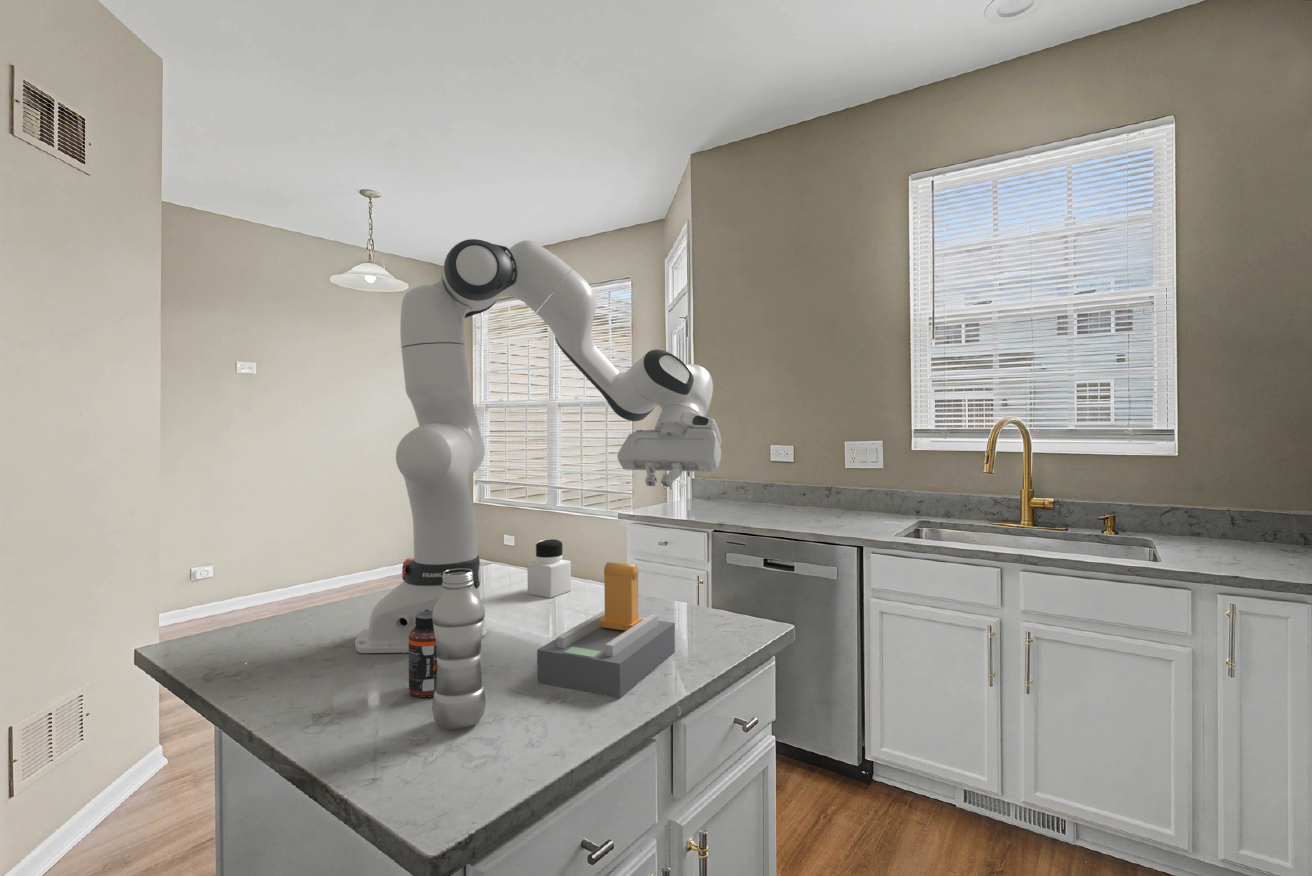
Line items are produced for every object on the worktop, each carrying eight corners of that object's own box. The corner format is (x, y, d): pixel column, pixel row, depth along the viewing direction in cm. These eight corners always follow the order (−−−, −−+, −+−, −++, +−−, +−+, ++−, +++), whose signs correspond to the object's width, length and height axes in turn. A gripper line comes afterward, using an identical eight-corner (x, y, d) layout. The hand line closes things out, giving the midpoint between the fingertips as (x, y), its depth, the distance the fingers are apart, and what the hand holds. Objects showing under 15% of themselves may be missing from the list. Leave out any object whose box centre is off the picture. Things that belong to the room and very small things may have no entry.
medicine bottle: (571, 591, 149) (571, 539, 149) (550, 598, 143) (550, 544, 143) (548, 587, 153) (547, 536, 153) (527, 594, 147) (526, 541, 147)
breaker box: (602, 640, 116) (602, 604, 116) (674, 652, 110) (674, 613, 110) (537, 682, 98) (537, 639, 97) (620, 698, 92) (619, 652, 92)
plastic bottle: (439, 714, 87) (436, 566, 87) (490, 711, 88) (488, 565, 87) (426, 737, 81) (423, 578, 80) (481, 735, 81) (479, 577, 81)
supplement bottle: (438, 700, 91) (437, 621, 91) (400, 697, 93) (399, 619, 92) (459, 683, 97) (458, 609, 97) (423, 680, 99) (422, 607, 98)
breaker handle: (611, 619, 110) (610, 559, 110) (643, 624, 108) (642, 562, 108) (599, 626, 107) (599, 564, 106) (632, 631, 104) (631, 567, 104)
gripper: (625, 419, 131) (602, 472, 122) (722, 419, 122) (704, 475, 114) (635, 441, 135) (613, 493, 127) (729, 441, 127) (713, 497, 118)
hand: (657, 484), depth 120 cm, fingers closed
